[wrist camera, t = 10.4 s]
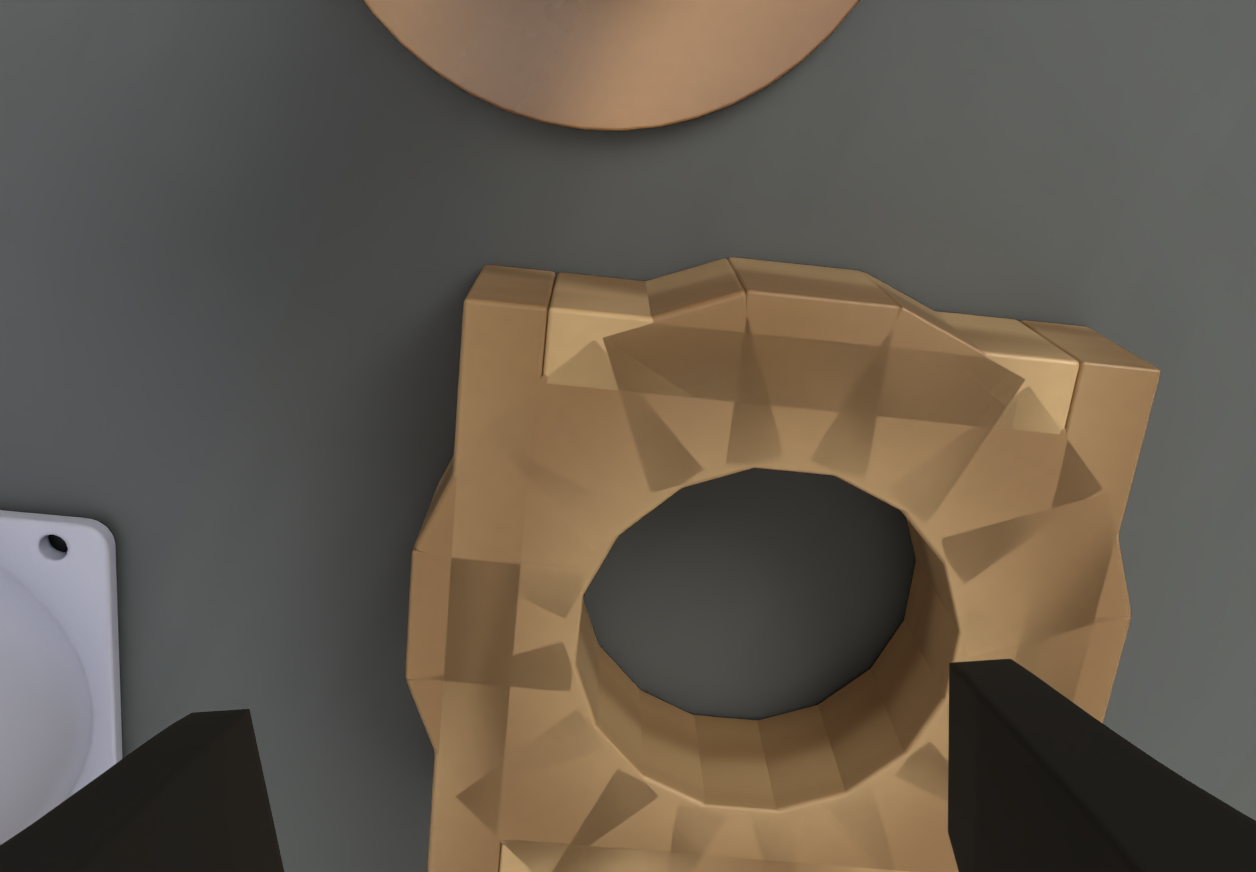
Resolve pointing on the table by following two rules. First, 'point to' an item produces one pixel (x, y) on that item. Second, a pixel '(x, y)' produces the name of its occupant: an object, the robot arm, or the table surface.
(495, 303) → the holder
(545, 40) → the coaster
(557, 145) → the table surface
